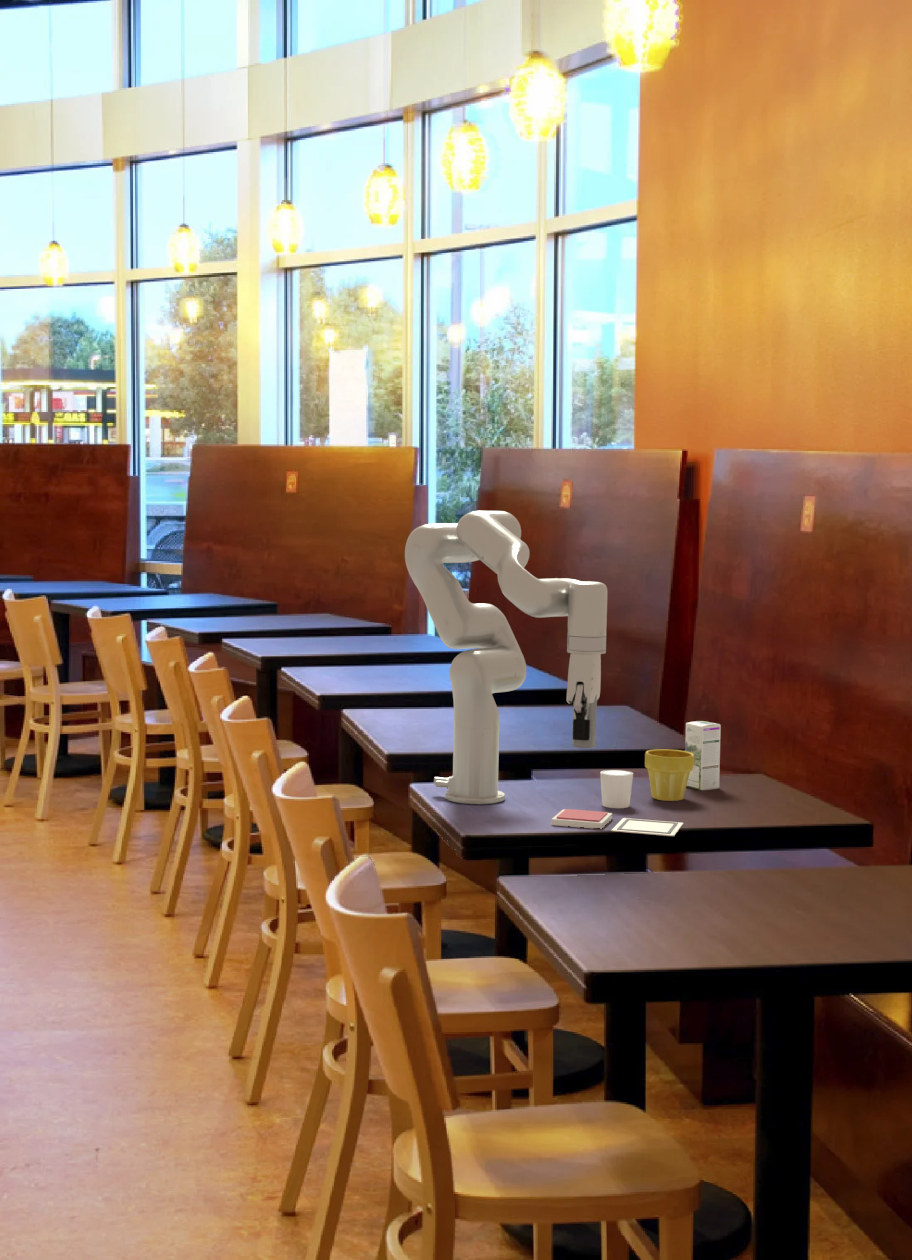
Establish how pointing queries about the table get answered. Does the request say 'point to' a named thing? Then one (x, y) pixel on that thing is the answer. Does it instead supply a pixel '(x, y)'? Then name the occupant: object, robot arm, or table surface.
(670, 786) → the plant pot
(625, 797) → the white cup
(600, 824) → the ink pad
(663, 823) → the print card
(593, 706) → the grey cylinder
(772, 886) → the table surface
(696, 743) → the syrup box
